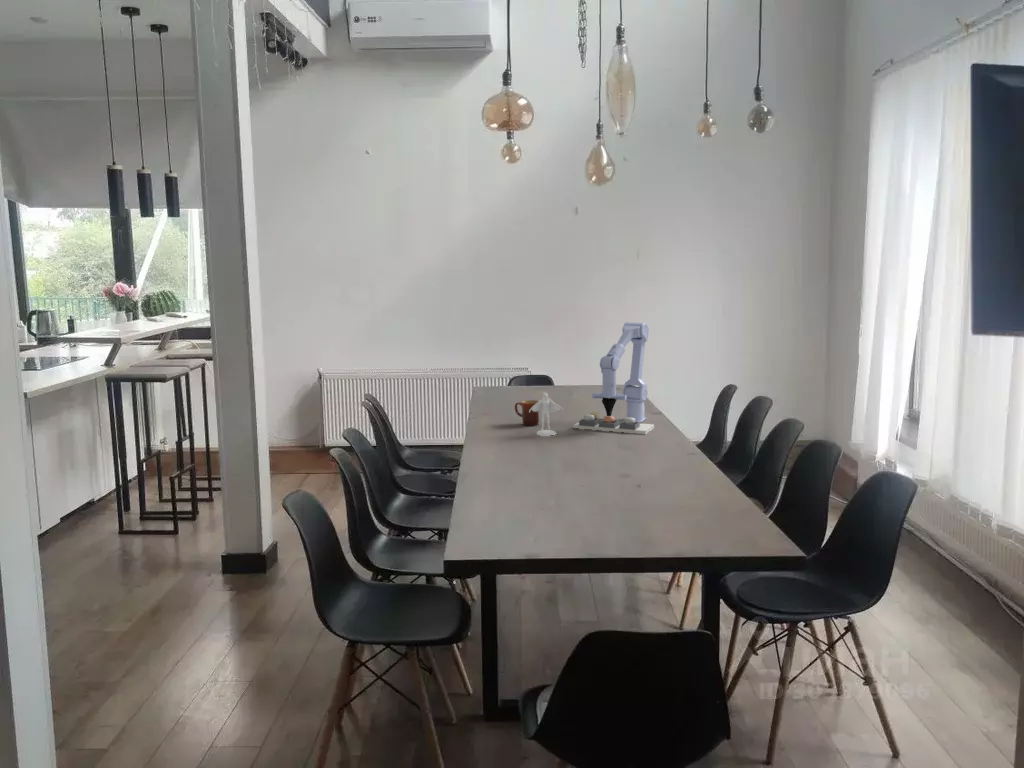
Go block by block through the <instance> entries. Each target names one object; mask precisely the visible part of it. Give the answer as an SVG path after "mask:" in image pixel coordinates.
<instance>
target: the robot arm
mask: <svg viewBox="0 0 1024 768" xmlns="http://www.w3.org/2000/svg"><path fill="white" fill-rule="evenodd" d="M621 330H622V333H621V336H620V337H619V339H618V341H617V343H614V344H613V345H612V346H611V347H610V350H609V351H608V352H607V354H605V355H603V356H602V357H601V358H600V362H599V367H600V371H601V374H602V392H601V393H600V392H597V393H596V392H594V393H592V395H591V396H592V397H591V398H592V399H601V403H602V404H603V407H604V409H605V412H606V416H613V415H612V414H613V409H614V407H615V404H616V402H617V400H618V401H619V400H620V401H625V402H626V417H633V418H635V422H640V424H642V423H643V422H644V421H645V420H647V417H645V410H646V409H645V403H644V402H645V401H646V399H647V398H648V389H647V388H648V385H647V383H646V382H644V380H643V369H644V368H643V367H644V360H645V349H646V348H645V347H646V342H648V340H649V339H648V338H649V326H648V324H647V323H646V322H629V321H625V323H624V324H623V326H622V329H621ZM629 342H631V343H632V345H633V346H632V355H631V357H632V358H631V366H630V375H629V376H630V377H629V378H628V380H626V381H625V383H624V386H623V390H622V394H621V393H620V394H619V393H617V370H618V369H619V367H620V362H621V359H622V357H623V355H624V354H625V352H626V349H625V348H626V347H627V346H628V344H629Z"/></svg>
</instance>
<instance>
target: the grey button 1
mask: <svg viewBox="0 0 1024 768" xmlns="http://www.w3.org/2000/svg"><path fill="white" fill-rule="evenodd" d="M583 418H584V421H590V422H594V421H595V415H591V414H590V413H588V414H583Z"/></svg>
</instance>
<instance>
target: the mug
mask: <svg viewBox="0 0 1024 768" xmlns="http://www.w3.org/2000/svg"><path fill="white" fill-rule="evenodd" d="M538 401H539V400H533V399H525V400H521V401H519V402H516V403H515V404H514V410H515V413H516V415H517V416H518V417H521V418H522V419H521V422H522V425H524V426H525V425H526V427H535V426H534V425H536V426H537V425H538V424H539V422H540V413H539V412H540V411H537V412H534V411H532V409H531V408H532V407H533V406H534V405H535V404H536V403H537V402H538ZM518 405H520V406H521V409H522V411H521V413H520V412H519V410H518ZM530 409H531V411H530V413H529V410H530Z"/></svg>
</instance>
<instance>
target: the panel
mask: <svg viewBox="0 0 1024 768" xmlns="http://www.w3.org/2000/svg"><path fill="white" fill-rule="evenodd" d="M573 428H580V429H579V430H584V429H592V430H591V431H596V430H602V431H601V432H609V431H613V432H612V433H621V432H624V434H633V433H635V434H636V433H637V435H647V434H648V433H650V432H651V431H652V430H653V429H655V424H651V423H640V422H635V425H630V424H624V419H615V423H604V418H600V417H599V418H598V419H595V421H594V422H590V421H584V417H583V418H582V419H580V420H579V421H578V422H576V423H575V424H573V425H572V429H573ZM649 431H650V432H649Z"/></svg>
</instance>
